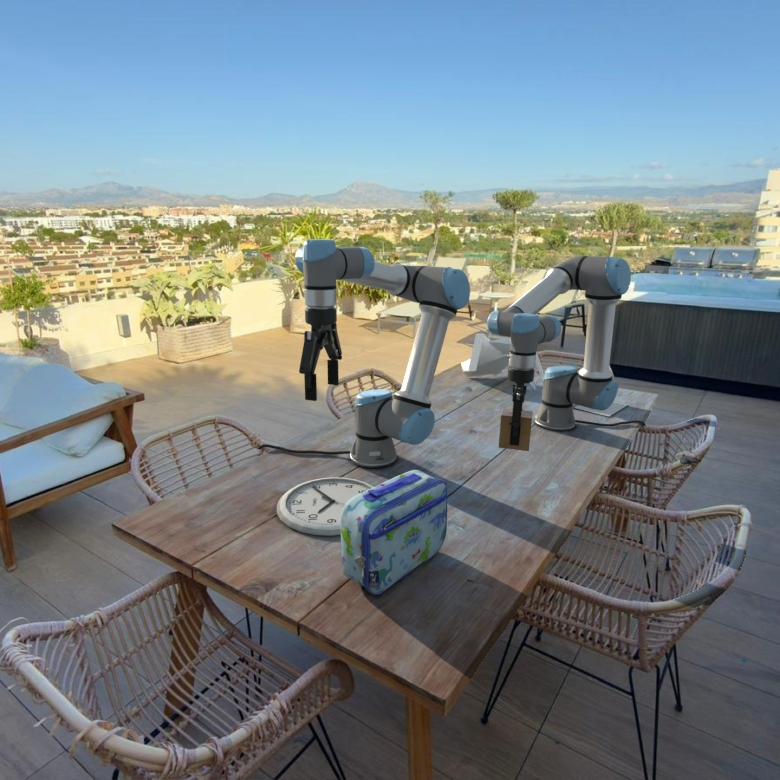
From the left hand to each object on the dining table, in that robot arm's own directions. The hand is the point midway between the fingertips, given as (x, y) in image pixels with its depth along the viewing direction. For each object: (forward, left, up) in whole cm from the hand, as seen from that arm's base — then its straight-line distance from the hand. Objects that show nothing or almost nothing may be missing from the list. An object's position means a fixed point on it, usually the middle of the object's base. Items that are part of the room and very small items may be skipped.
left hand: (322, 392), depth 130 cm
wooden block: (+42, +43, -24) cm, 64 cm away
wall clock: (0, +3, -33) cm, 33 cm away
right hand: (+42, +43, -22) cm, 64 cm away
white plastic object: (+18, +140, -33) cm, 145 cm away
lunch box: (+27, -15, -33) cm, 45 cm away
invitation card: (+65, +125, -33) cm, 145 cm away
